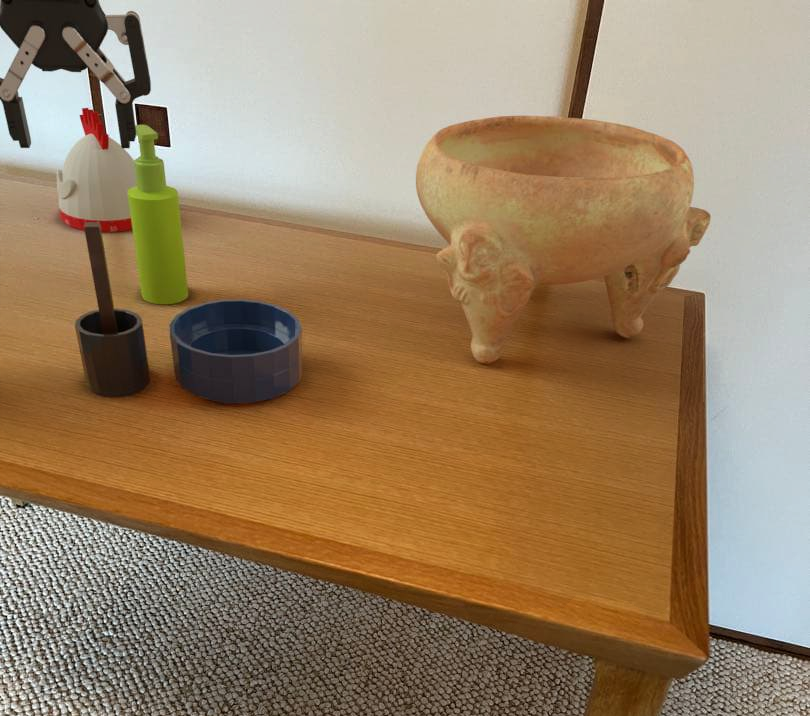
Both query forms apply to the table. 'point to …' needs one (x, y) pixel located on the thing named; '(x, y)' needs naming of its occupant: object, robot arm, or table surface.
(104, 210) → the kitchen timer
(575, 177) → the decorative bowl
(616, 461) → the table surface
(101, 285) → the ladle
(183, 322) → the mixing bowl
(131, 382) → the crock
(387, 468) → the table surface
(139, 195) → the soap dispenser
